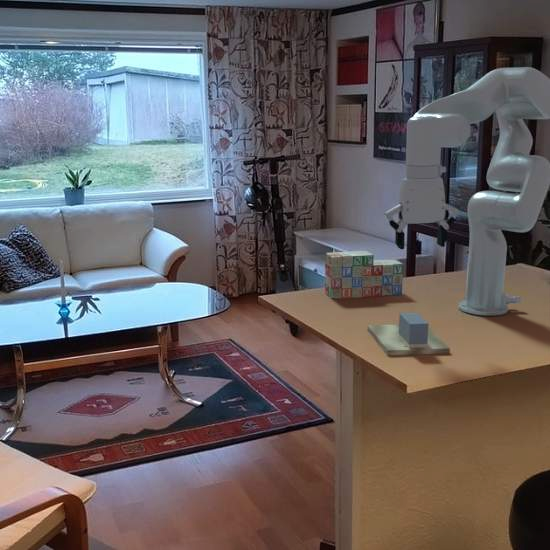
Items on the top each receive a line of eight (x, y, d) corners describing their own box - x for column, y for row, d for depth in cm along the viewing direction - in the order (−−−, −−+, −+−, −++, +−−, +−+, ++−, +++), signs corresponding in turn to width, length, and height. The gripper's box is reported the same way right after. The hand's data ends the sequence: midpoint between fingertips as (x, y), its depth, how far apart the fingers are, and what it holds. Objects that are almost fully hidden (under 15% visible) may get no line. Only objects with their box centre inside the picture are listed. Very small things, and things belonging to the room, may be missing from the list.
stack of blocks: (394, 289, 209) (396, 249, 206) (402, 295, 203) (404, 253, 200) (324, 293, 204) (325, 251, 202) (330, 299, 199) (331, 256, 196)
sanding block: (416, 335, 163) (417, 313, 162) (427, 347, 155) (428, 323, 154) (398, 336, 163) (399, 313, 161) (408, 348, 155) (409, 324, 154)
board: (423, 328, 173) (423, 323, 172) (449, 353, 155) (450, 348, 155) (367, 330, 171) (367, 325, 171) (387, 355, 154) (387, 350, 153)
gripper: (453, 168, 163) (450, 241, 167) (380, 172, 161) (379, 245, 165) (466, 172, 156) (463, 248, 160) (390, 176, 154) (389, 252, 158)
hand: (420, 246), depth 163 cm, fingers open, 9 cm apart
